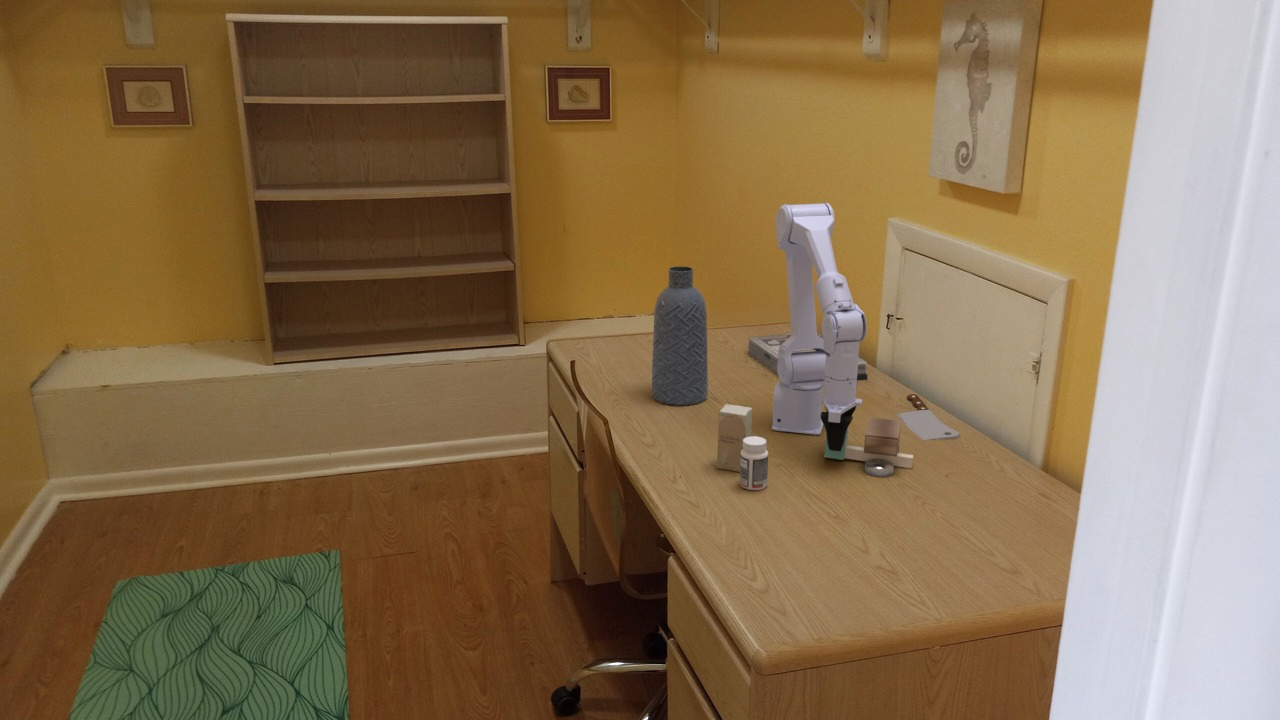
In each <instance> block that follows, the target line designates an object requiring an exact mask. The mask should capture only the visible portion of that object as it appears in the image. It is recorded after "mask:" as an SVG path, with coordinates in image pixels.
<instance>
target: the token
mask: <svg viewBox="0 0 1280 720" xmlns="http://www.w3.org/2000/svg"><path fill="white" fill-rule="evenodd" d="M894 467H895V466H894V464H893V463H892V462H890V461H887V460H883V459H870V460H867V461H864V472H865V474H867V475H869V476H871V477H877V478H887V477H891V476H892V475H893V474H894V470H895V468H894Z"/></svg>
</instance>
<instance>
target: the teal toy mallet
mask: <svg viewBox="0 0 1280 720" xmlns="http://www.w3.org/2000/svg"><path fill="white" fill-rule="evenodd" d="M849 426H850V425H849ZM849 426H848V428H847V430H846V433H845V438H844V442H843V446H842V449H841V451H832V450H829V446H828V441H827V434H826V436H825V445H824V453H823V454H824V455H823V457H824V458H828V459H833V460H834V459H835V460H841V461H844V459H849V460H853V461H855V460H856V461H861V462H866V461H867V460H870V459H883V460H887V461H890V462H892V463H893V464H894V467H899V468H904V469H912V467H913V466H912V465H913V461H914V455H913V454H908V453H902V452H899V453H897V457H896V456H887V455H878V454H869V453H864V447H863V446H855V445H848V444H847V443H848V435H849Z"/></svg>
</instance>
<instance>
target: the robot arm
mask: <svg viewBox="0 0 1280 720" xmlns="http://www.w3.org/2000/svg"><path fill="white" fill-rule="evenodd" d="M775 217H776V218H775V229H776V231H775V232H776V242H777V247H778V249H779V250H782V251H783V252H784V254H785V263H786V265H785V266H786V277H787V278H786V279H787V289H788V291H787V292H788V293H787V294H788V304H789V305H788V306H789V318H790V334H791V336H790V337H789V338H788V339H787V340H786V341H785V342H784V343H783V344H782V345H781V346H780V347H779V350H778V363H777V371H778V379H779V380H780V381H777V382H776V383H775V387H774V392H773V401H772V403H773V407H772V426H771V430H772V431H777V432H786V433H795V434H796V433H797V434H806V435H814V436H820V435H821V433H822V430H823V427H824V429H825V432H826V435H827V441H828V446H829V450H832V451H841V449H842V446H843V442H844V438H845V433H846V430H847V428H848V426H850V425H851V424H852V421H853V419H854V416H853V414H854V412H855V411H856V410H857V407H861V406H862V405H863V399H861V398H856V397H857V382H858V381H857V371H858V357H859V356H860V355H859V354H860V353H859V352H860V342H863V341H864V340H865V338H866V335H867V331H868V326H867V318H866V314H865V312H864V311H863V310H862V309H861V308H860V306H859V305H858V304H856V303H854V299H853V297H852V293H851V291H850V288H849V284H848V280H847V278H846V277H845V276H844V275H843V274H841V273H839V272H838V268H837V263H836V259H835V258H836V257H835V255H834V249H833V244H832V240H831V238H832V236H833V233H834V228H835V220H836V218H835V212H834V208H833V207H832V206H831V204H830V203H828V202H823V203H807V204H806V203H805V204H787V203H786V204H785V203H784V204H782V205H780V207H779V209H778V210H777V213H776V216H775ZM813 268H814V270H815V273H816V275H817V277H818V278H817V279H818V280H817V281H816V282H815V285H814V276H813V275H814V274H813ZM814 291H815V292H816V296H817V299H818V303H819V305H820V309H821V312H822V316H823V318H822V322H821V333H822V334H821V335H822V336H823V339H824V340H823V339H822V338H820V337H819V336H818V335H817V333H818V332H817V331H818V330H817V317H816V316H817V315H816V305H815V301H816V300H815V292H814ZM801 349H814V350H815V351H811V352H797V353H792V352H793V351H795V350H801ZM822 405H823V406H822ZM822 407H824V408H825V411H822V410H823V408H822ZM848 429H849V428H848Z"/></svg>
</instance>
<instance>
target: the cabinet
mask: <svg viewBox="0 0 1280 720" xmlns="http://www.w3.org/2000/svg"><path fill="white" fill-rule="evenodd" d="M867 422H868V423H867V425H866V431H865V434H864V447H863V448H864V453H869V454H878V455H887V456H896V457H897V453H900V444H901V443H900V442H901V429H902V420H899V419H898V420H896V419H887V418H886V419H885V418H877V417H869V418H868V421H867Z"/></svg>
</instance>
